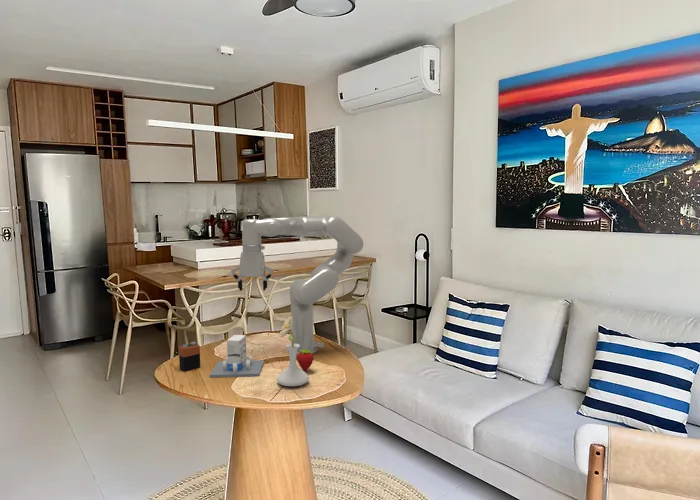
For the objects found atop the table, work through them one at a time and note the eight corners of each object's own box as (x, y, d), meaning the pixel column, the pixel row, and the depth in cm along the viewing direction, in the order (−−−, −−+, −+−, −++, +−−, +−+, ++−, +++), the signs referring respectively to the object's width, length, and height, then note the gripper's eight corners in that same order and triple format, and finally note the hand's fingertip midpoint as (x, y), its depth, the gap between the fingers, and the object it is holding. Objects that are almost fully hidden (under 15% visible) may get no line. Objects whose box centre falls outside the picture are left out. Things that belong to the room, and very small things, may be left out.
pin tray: (263, 362, 194) (263, 351, 194) (258, 376, 178) (258, 364, 178) (218, 363, 193) (218, 352, 193) (209, 377, 177) (209, 365, 177)
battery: (200, 367, 188) (200, 342, 187) (184, 371, 184) (183, 346, 183) (195, 365, 191) (194, 340, 191) (179, 369, 187) (178, 344, 186)
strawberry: (307, 367, 188) (306, 342, 187) (316, 372, 182) (316, 347, 181) (293, 370, 185) (293, 344, 184) (303, 376, 178) (302, 349, 178)
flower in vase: (280, 377, 177) (278, 310, 175) (310, 378, 176) (310, 310, 174) (273, 391, 164) (271, 319, 162) (306, 391, 163) (305, 319, 161)
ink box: (239, 371, 181) (239, 340, 180) (227, 370, 182) (226, 340, 181) (247, 363, 190) (246, 334, 189) (235, 363, 190) (234, 334, 189)
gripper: (273, 248, 202) (274, 288, 204) (232, 248, 201) (233, 288, 203) (272, 249, 195) (272, 291, 196) (228, 250, 194) (230, 292, 195)
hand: (252, 290), depth 199 cm, fingers open, 9 cm apart
